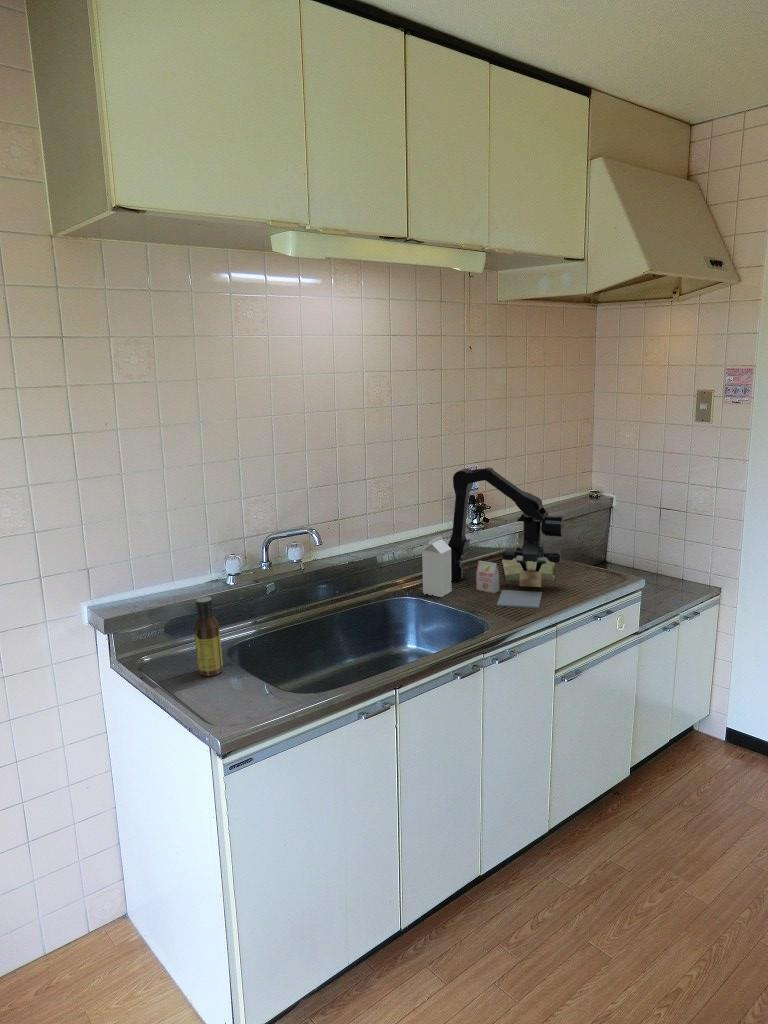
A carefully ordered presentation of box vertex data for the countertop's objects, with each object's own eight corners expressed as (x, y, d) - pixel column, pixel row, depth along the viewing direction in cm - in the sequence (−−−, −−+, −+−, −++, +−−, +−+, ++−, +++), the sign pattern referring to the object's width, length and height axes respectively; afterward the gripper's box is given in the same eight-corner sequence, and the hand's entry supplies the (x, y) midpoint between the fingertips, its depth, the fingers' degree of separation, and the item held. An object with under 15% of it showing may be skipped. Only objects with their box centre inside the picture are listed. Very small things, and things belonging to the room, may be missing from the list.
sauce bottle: (207, 666, 191) (201, 593, 187) (228, 669, 189) (222, 595, 185) (192, 676, 185) (186, 601, 181) (213, 679, 183) (207, 603, 179)
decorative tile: (505, 581, 257) (505, 572, 257) (501, 566, 277) (502, 557, 276) (559, 581, 255) (559, 572, 255) (552, 566, 275) (552, 556, 274)
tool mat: (496, 606, 231) (496, 604, 231) (502, 591, 245) (502, 589, 245) (538, 608, 227) (538, 606, 227) (541, 593, 241) (541, 592, 241)
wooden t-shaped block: (519, 585, 244) (519, 571, 243) (522, 576, 255) (522, 562, 254) (540, 587, 243) (541, 572, 242) (542, 577, 253) (543, 563, 252)
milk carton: (451, 591, 246) (451, 537, 242) (441, 597, 240) (440, 541, 237) (433, 588, 250) (432, 534, 246) (422, 594, 244) (421, 539, 240)
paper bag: (481, 587, 250) (481, 559, 248) (499, 590, 246) (499, 562, 244) (476, 590, 247) (475, 561, 245) (493, 593, 243) (493, 564, 241)
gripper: (501, 539, 239) (500, 585, 242) (559, 541, 234) (558, 588, 237) (504, 531, 250) (504, 575, 253) (560, 533, 245) (559, 578, 248)
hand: (531, 579), depth 247 cm, fingers closed on wooden t-shaped block, 2 cm apart
